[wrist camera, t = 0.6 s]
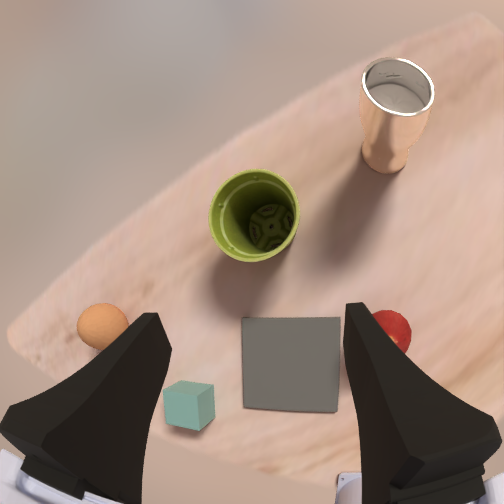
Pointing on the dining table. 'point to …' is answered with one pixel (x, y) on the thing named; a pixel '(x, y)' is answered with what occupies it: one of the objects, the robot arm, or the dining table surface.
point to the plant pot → (253, 215)
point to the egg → (101, 325)
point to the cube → (189, 404)
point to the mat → (291, 363)
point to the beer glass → (393, 111)
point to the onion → (395, 327)
